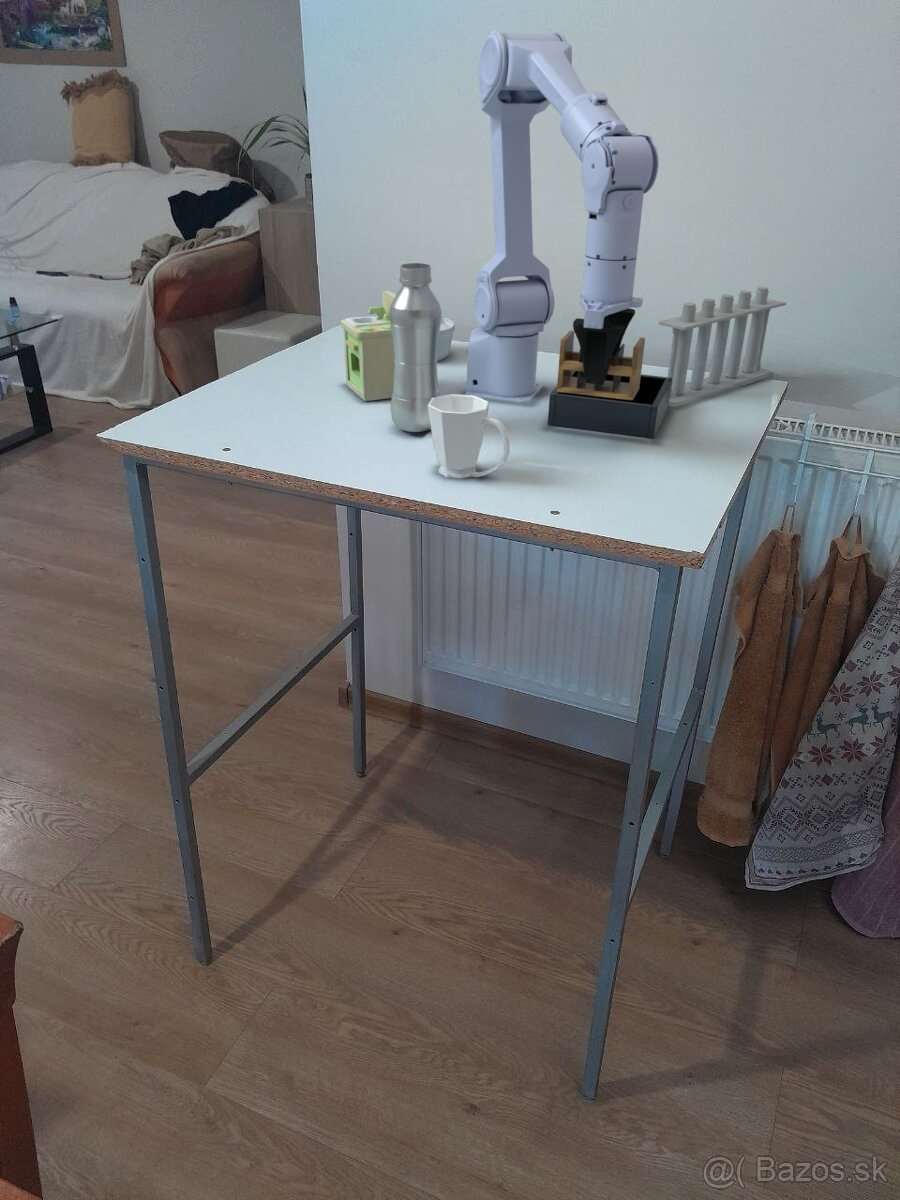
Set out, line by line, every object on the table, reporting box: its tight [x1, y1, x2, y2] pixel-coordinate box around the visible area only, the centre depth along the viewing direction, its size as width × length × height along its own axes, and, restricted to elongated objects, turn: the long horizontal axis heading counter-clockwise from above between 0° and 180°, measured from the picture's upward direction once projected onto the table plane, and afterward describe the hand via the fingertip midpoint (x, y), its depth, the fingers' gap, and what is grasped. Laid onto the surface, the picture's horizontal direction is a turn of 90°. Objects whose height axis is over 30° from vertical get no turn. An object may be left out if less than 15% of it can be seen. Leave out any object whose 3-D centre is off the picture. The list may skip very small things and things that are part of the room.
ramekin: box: [437, 316, 456, 362], centre depth 149 cm, size 11×11×5 cm
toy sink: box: [340, 290, 397, 402], centre depth 131 cm, size 8×7×13 cm
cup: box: [428, 393, 511, 480], centre depth 105 cm, size 7×10×8 cm
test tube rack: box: [658, 286, 787, 406], centre depth 135 cm, size 25×4×13 cm, turn 132°
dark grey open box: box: [547, 370, 673, 440], centre depth 124 cm, size 14×14×5 cm
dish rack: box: [556, 330, 646, 400], centre depth 110 cm, size 9×5×6 cm, turn 71°
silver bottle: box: [389, 262, 443, 433], centre depth 115 cm, size 6×7×20 cm
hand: (599, 377), depth 111 cm, fingers closed on dish rack, 5 cm apart
